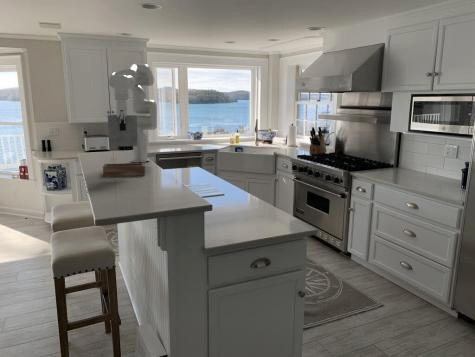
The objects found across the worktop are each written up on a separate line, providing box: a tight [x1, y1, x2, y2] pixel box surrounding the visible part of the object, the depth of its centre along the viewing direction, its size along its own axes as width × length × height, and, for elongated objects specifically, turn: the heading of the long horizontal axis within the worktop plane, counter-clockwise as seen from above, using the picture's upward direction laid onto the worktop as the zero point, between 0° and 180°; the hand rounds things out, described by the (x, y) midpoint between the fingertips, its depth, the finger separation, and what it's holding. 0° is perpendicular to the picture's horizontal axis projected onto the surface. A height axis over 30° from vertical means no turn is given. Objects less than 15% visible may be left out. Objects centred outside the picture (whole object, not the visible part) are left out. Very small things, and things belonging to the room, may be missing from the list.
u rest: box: [102, 162, 146, 178], centre depth 219 cm, size 12×23×6 cm, turn 103°
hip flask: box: [107, 114, 138, 147], centre depth 214 cm, size 16×4×20 cm, turn 108°
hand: (123, 129), depth 214 cm, fingers closed on hip flask, 4 cm apart
